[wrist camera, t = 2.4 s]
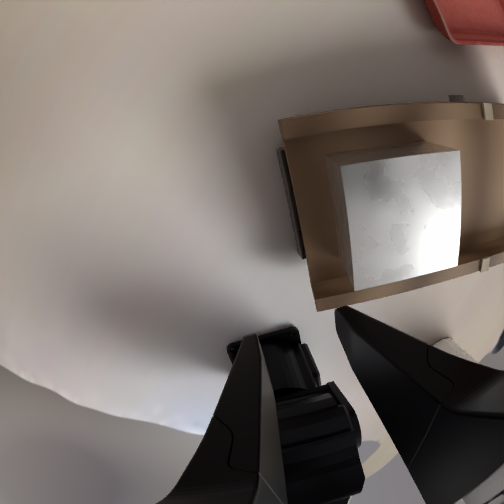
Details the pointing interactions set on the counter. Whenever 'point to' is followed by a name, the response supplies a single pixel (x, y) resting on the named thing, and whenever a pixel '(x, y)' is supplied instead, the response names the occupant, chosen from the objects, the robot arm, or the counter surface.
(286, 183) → the stand
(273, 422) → the robot arm
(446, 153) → the steel block
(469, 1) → the plant saucer
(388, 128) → the wooden tray
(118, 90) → the counter surface
